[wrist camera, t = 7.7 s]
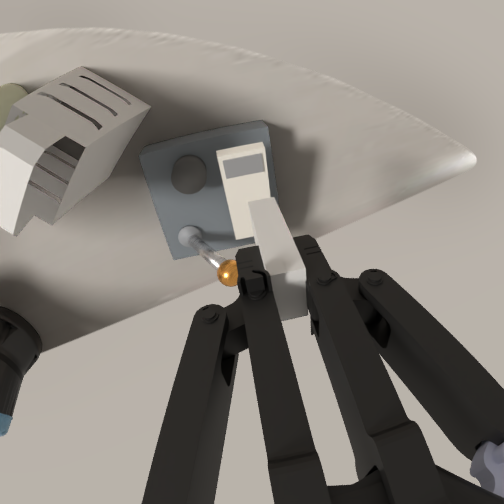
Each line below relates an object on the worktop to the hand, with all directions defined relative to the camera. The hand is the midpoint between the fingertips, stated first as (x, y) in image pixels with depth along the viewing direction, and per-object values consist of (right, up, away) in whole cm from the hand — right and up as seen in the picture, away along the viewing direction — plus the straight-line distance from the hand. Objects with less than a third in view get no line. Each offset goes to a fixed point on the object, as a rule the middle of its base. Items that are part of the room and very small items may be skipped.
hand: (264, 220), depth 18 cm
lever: (-8, 0, +19) cm, 20 cm away
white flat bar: (-1, +4, +14) cm, 14 cm away
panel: (-5, +6, +20) cm, 22 cm away
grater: (-19, +13, +13) cm, 27 cm away
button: (-7, +7, +14) cm, 17 cm away
